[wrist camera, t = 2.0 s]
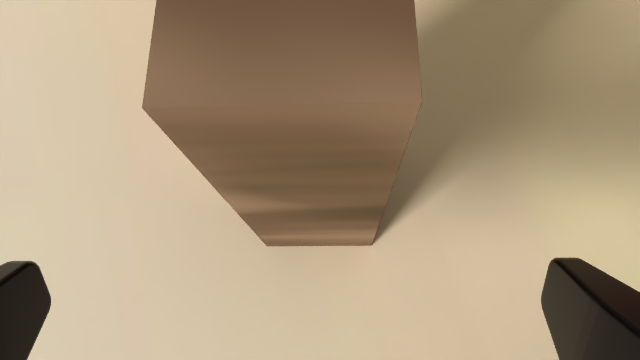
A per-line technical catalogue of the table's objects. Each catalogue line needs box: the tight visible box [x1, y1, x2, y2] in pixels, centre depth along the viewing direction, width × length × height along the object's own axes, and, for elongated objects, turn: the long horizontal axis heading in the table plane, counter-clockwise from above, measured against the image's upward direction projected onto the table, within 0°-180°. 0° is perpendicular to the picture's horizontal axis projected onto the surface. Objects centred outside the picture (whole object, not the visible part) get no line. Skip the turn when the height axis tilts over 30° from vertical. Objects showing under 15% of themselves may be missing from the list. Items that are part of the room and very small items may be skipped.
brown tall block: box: [142, 0, 422, 246], centre depth 14 cm, size 4×4×13 cm
